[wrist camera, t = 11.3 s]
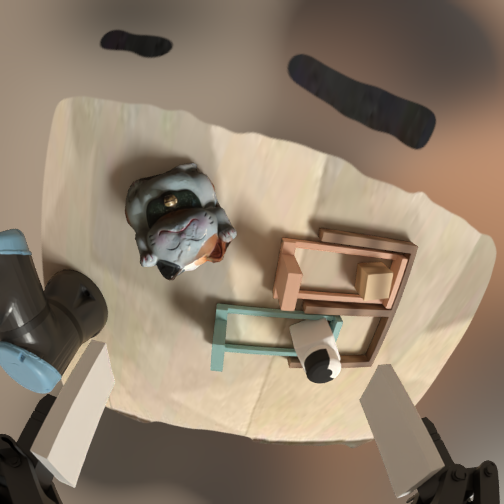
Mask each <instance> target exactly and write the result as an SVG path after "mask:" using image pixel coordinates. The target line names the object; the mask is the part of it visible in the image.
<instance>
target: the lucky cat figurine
mask: <svg viewBox="0 0 504 504" xmlns="http://www.w3.org/2000/svg"><path fill="white" fill-rule="evenodd" d="M125 214H126V218H127V222H128V224H129V225H130V226H131V227H132V228H133V229H134V230H135V232H136V234H135V236H136V237H135V240H136V243H137V246H138V249H139V253H140V264H141V266H143V267H145V266H147V267H151V266H155V265H157V267H158V269H159V271H160V272H161V274H162V275H163V277H165V278H166V279H168V280H174V279H175V277H176V276H178V275H179V274H181V273H182V272H184V271H190V270H194V269H196V268H197V267H198V266H199V265H201V264H203V263H205V262H206V261H211V262H213V263H216V262H220V261H221V260H222V259H223V258H224V256H223V255H224V254H225V252H226V249H227V247H228V246H229V244H230V242H231V241H232V240H233V239H234V238H235V237H236V236H237V231H236V230H235V229H234V228H233V227H232V225H231V223H230V221H229V219H228V217H227V215H226V213H225V211H224V209H223V208H221V207H220V205H219V203H218V201H217V198H216V193H215V189H214V186H213V184H212V183H211V181H210V179H209V178H208V177H207V175H205V174H201V173H198V171H197V165H196V164H194V163H191V164H182V165H179V166H177V167H175V168H174V169H172V170H171V171H168V172H166V173H164V174H160V175H156V176H152V177H148V178H142V179H139V180H137V181H135V182H133V183H132V185H131V186H130V188H129V190H128V194H127V198H126V206H125Z"/></svg>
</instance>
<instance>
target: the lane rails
mask: <svg viewBox="0 0 504 504" xmlns="http://www.w3.org/2000/svg"><path fill="white" fill-rule="evenodd" d="M318 237H319V238H320V239H321V241H324V242H331V243H339V244H346V245H354V246H361V247H368V248H376V249H383V250H390V251H397V252H403V256H404V257H406V258H407V259H408V260H407V264H406V267H405V270H404V273H403V276H402V279H401V282H400V285H399V288H398V290H397V293H396V296H395V299H394V301H393V304H392V307H391V308H385V307H384V305H383V304H374V303H355V302H339V301H324V300H310V299H304V300H303V304H302V307H303V310H304V313H307V314H324V315H345V316H374V317H381V320H380V322H379V325H378V327H377V329H376V332H375V334H374V337H373V339H372V341H371V344H370V346H369V348H368V350H367V353H366V355H340V363H341V368H354V367H371V366H372V364H373V362H374V360H375V358H376V356H377V354H378V352H379V350H380V347H381V345H382V343H383V341H384V339H385V336H386V334H387V332H388V330H389V327H390V325H391V322H392V320H393V318H394V315H395V313H396V310H397V308H398V305H399V302H400V300H401V297H402V294H403V292H404V289H405V286H406V283H407V280H408V277H409V274H410V271H411V268H412V265H413V262H414V259H415V256H416V252H417V249H418V246H416V245H415V244H413V243H412V242H407V241H401V240H395V239H389V238H383V237H377V236H371V235H365V234H358V233H352V232H345V231H338V230H331V229H325V228H320V229H319V234H318ZM288 365H289V368H303V367H302V365H301V363H300V360H299V358H298V356H288Z"/></svg>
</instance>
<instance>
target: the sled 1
mask: <svg viewBox="0 0 504 504" xmlns="http://www.w3.org/2000/svg"><path fill="white" fill-rule="evenodd" d="M228 313H234V314H244V315H255V316H267V317H279V318H294V319H310V320H319V319H322V318H326V319H327V320H330V323H329V326H330V328H331V331H332V333H333V335H334V338H335V342H336V340H337V338H338V335H339V332H340V329H341V327H342V324H343V321H342V319H341V317H340V315H324V314H307V313H304V311H295V310H294V311H284V310H281V309H269V308H258V307H247V306H237V305H227V304H218V303H217V308H216V319H215V327H214V334H213V342H212V355H211V370H212V371H221V372H222V370H223V360H224V351H225V352H235V353H247V354H261V355H279V356H297V354H296V351H295V349H289V348H271V347H256V346H243V345H232V344H225V338H226V324H227V314H228Z"/></svg>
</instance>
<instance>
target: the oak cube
mask: <svg viewBox="0 0 504 504" xmlns="http://www.w3.org/2000/svg"><path fill="white" fill-rule="evenodd" d="M392 277H393V272H392V271H391V270H390V269H389V268H388V267H387V266H386V265H385V264H383V263H382V262H369V263H358V265H357V273H356V281H355V289H356V290H357V292H358V293H359V295H360V296H361V297H362V299H363V300H364V301H368V300H377V299H385V298H389V293H390V288H391V283H392Z"/></svg>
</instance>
